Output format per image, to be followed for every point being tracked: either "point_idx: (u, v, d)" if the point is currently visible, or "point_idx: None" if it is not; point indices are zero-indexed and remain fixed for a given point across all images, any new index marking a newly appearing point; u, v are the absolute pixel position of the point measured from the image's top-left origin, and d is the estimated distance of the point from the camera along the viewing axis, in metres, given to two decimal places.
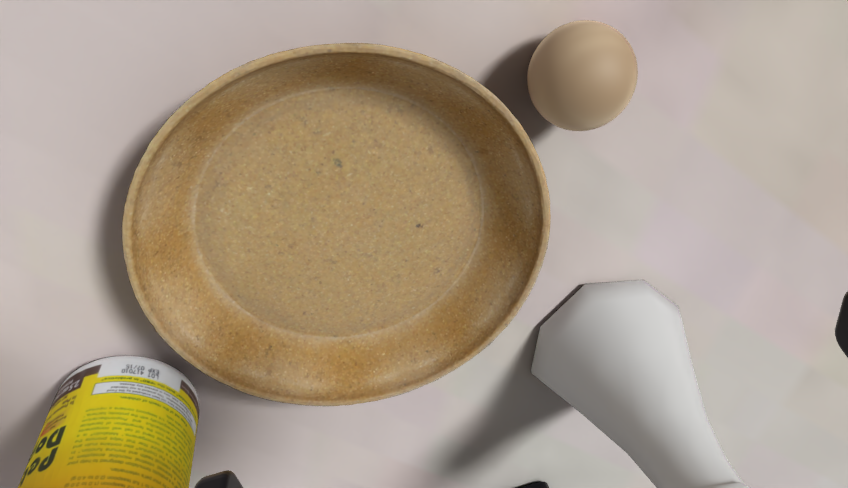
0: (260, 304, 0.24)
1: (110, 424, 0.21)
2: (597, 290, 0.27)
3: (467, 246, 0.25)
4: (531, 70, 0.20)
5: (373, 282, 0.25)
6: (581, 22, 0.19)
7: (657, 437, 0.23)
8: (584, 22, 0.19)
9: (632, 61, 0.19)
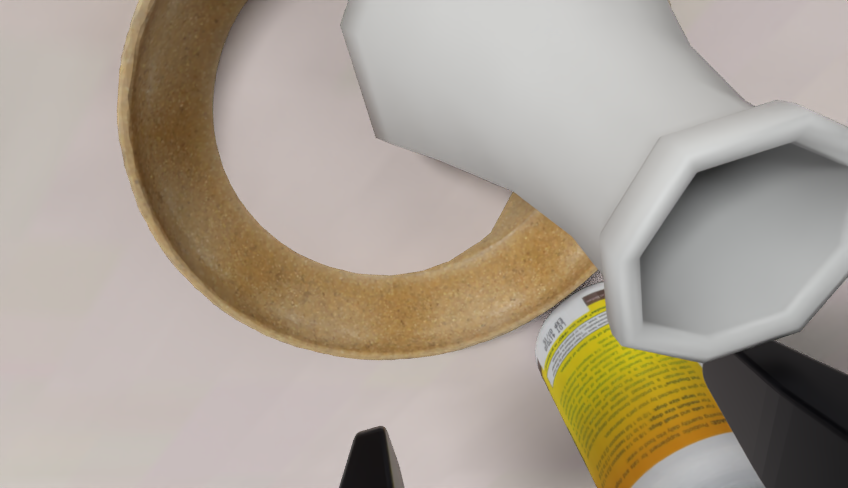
0: (501, 220, 0.21)
1: (575, 401, 0.20)
2: (378, 123, 0.15)
3: None
4: None
5: None
6: None
7: None
8: None
9: None
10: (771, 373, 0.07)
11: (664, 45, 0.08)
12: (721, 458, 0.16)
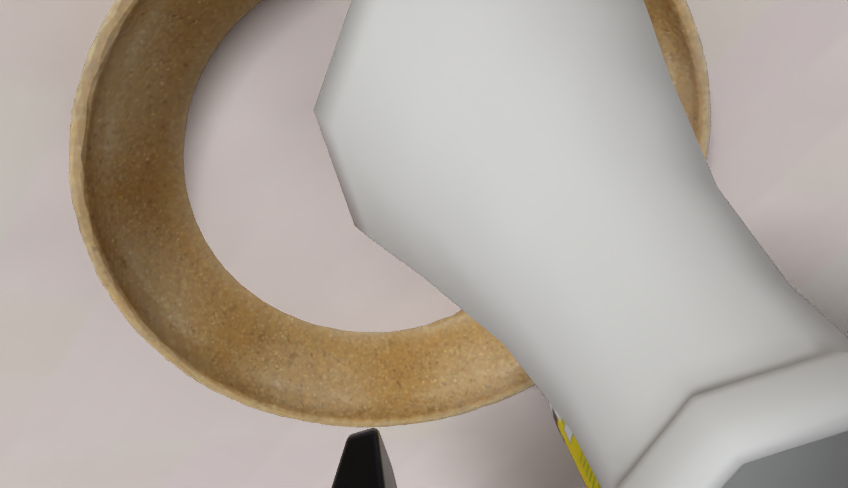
0: None
1: None
2: (357, 213, 0.13)
3: None
4: None
5: None
6: None
7: None
8: None
9: None
10: None
11: (688, 204, 0.07)
12: None
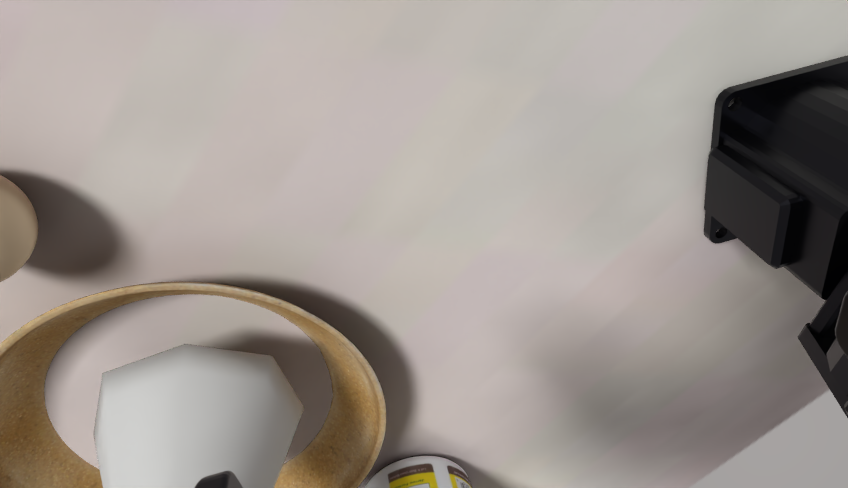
0: None
1: None
2: None
3: None
4: None
5: None
6: None
7: None
8: None
9: None
10: None
11: None
12: None
